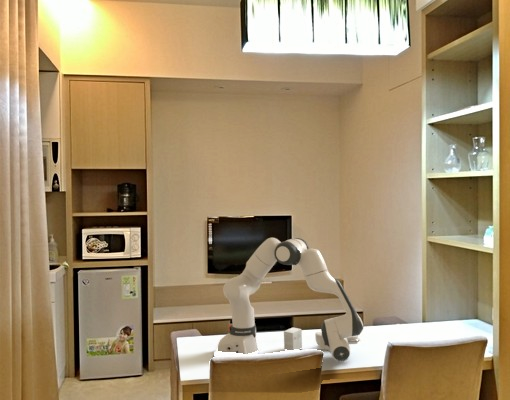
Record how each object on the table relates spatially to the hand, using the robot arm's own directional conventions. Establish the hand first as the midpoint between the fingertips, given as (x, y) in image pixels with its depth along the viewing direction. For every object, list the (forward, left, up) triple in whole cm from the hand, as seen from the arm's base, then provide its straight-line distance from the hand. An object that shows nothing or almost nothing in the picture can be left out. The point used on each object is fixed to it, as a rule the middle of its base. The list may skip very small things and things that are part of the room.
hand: (335, 332), depth 228 cm
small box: (-21, 0, -9) cm, 23 cm away
